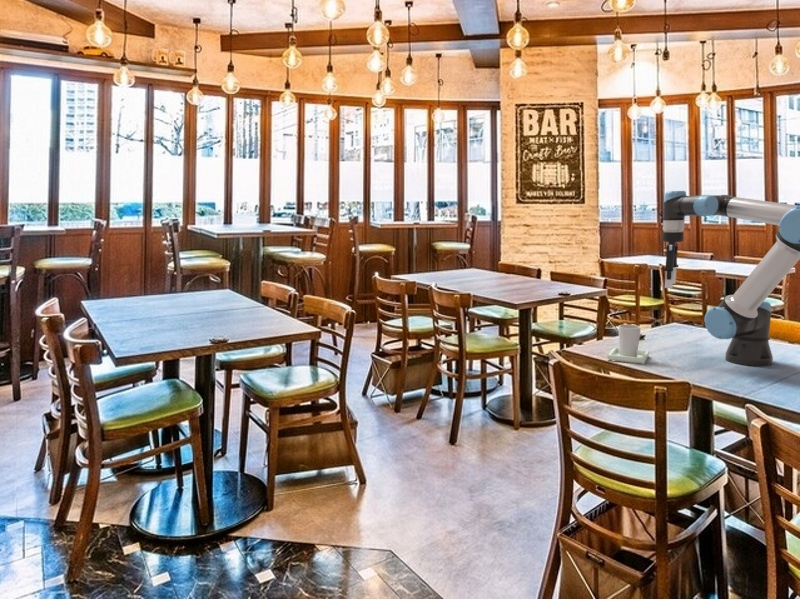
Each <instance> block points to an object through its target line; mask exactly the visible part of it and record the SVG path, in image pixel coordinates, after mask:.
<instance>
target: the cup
mask: <svg viewBox="0 0 800 600" xmlns="http://www.w3.org/2000/svg"><path fill="white" fill-rule="evenodd" d="M641 329H642V327H641V326H640V325H635V324H628V323H627V324H620V325H618V344H619V345H618V348H619V350H620V356H629V357H637V353H638V350H639V344H640V343H639V342H640V335H641Z"/></svg>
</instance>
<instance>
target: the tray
mask: <svg viewBox="0 0 800 600" xmlns="http://www.w3.org/2000/svg"><path fill="white" fill-rule="evenodd" d="M649 352H650V351H649V350H642V349H638V353H637V357H629V356H620V350H619V347H613V348H612V349H611V351H609V353H608V354H607V359H609V360H615V361H614V362H616V361H621V362H620V363H625V362H629V363H628V364H636V365H645V363H646V362H647V360H648V358H649V355H650V353H649Z"/></svg>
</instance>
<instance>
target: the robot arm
mask: <svg viewBox="0 0 800 600" xmlns="http://www.w3.org/2000/svg"><path fill="white" fill-rule="evenodd" d="M688 216H689V217H709V216H719V217H721V216H722V217H725V218H726V217H728V218H734V219H741V220H746V221H751V222H757V223H762V224H769V225H774V226H779V229H778V231H777V232H776V234H775V238H776V241H775V243H774V244H773V246H772V247H771V248H770V249H769V250H768V252H767V253H766V254H765V255H764V256H763V258H762V259H761V260H760V262H759V263H758V264H757V265H756V266H755V267H754V269H753V270H752V271H751V273H749V275H748V276H747V277H746V279H744V281H743V282H742V284H741V285H740V286H739V288H737V289H736V290H735V292H734V294H729V295H726V296H725V297H724V298H723V300H721V302H720V303H719V305H718V306H713V307H712V308H710V309H708V310H707V312H705V315H704V323H705V324H704V325H705V329H706V330H707V332H708V333H709V334H710V335H711V336H712V337H714V338H716V339H719V340H730V339H731V340H730V343H729V344H728V346H727V349H726V351H725V360H726V361H727V362H730V363H734V364H738V365H741V366H742V365H743V366H744V365H745V366H751V367H752V366H754V367H755V366H756V367H766V366H770V365H773V362H774V361H773V360H774V357H773V353H772V350H771V345H770V344H769V343H770V342H769V338H770V330H771V329H770V328H771V316H772V304H771V303H770V302H768V301H765V300H766V299H767V298H768V297H769V296H770V294H771V293H772V292H773V291H774V290H775V288H776V287H777V286H778V285H779V284H780V283H781V282H782V281H783V280H784V278H785V277H786V276H787V275H788V274H789V272H791V270H792V269H793V268H794V266H795V265H797V263H798V262H799V260H800V205H795V204H788V203H782V202H781V203H780V202H775V201H767V200H759V199H754V198H745V197H739V196H738V197H737V196H733V195H730V194H718V195H713V194H700V195H699V194H697V195H687V192H686V191H685V190H669V191H666V192H665V193H664V197H663V218H662V219H663V221H662V222H661V223H660V224H661V226H662V231H663V232H662V236H661V241H662V242H665V243H668V244H667V245H666V248H665V252H666V253H665V256H666V258H665V267H664V268H663V271H664V272H665V274H664V289H673V286H674V285H676V284H677V282H676V281H677V268H679V264H678V253H679V252H678V251H679V246H678V245H679V244H678V243H679V242H680V243H681V242H684V235H685V233H684V230H685V221H686V220H685V219H686V218H685V217H688Z"/></svg>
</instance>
